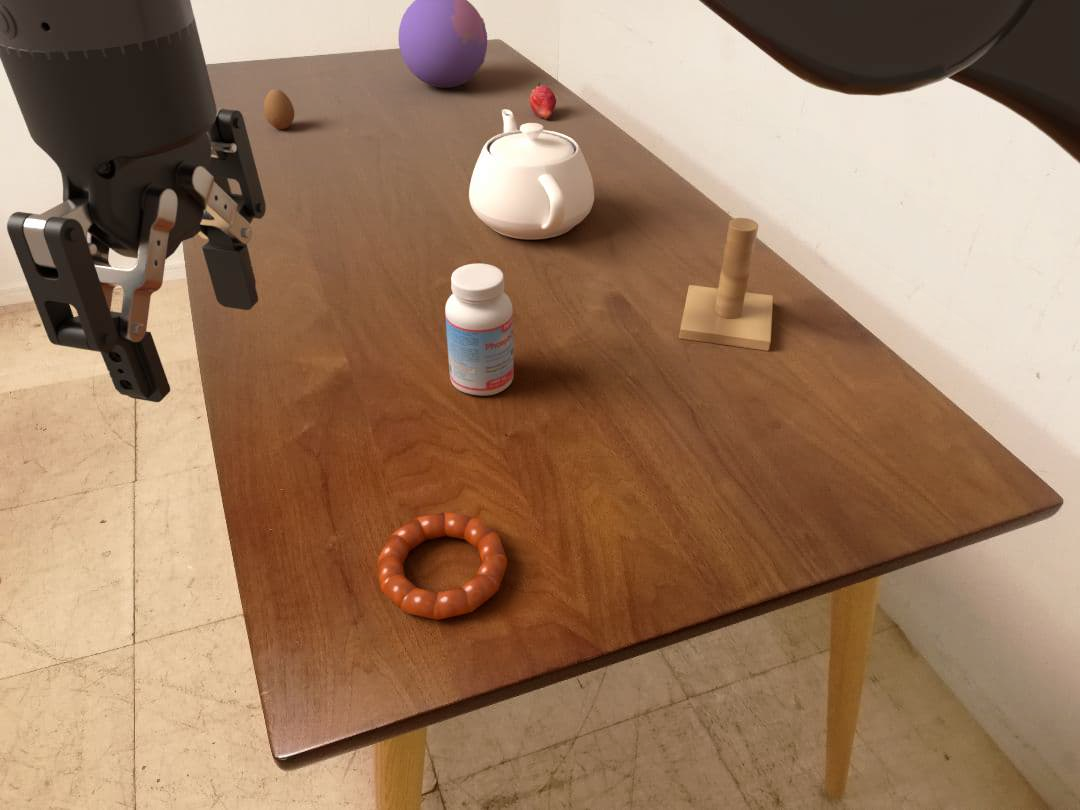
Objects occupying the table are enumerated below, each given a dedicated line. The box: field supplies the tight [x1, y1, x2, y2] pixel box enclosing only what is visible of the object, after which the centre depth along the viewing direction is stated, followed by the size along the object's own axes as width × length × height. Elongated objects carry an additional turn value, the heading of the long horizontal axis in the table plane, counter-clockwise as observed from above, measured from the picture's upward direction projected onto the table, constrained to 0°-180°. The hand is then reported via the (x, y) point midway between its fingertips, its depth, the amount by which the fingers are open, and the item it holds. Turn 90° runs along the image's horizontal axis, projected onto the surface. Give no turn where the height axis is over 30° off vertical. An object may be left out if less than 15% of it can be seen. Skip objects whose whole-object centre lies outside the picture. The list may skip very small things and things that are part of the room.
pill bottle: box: [444, 263, 515, 397], centre depth 75 cm, size 6×6×11 cm
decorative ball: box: [398, 0, 488, 89], centre depth 139 cm, size 15×15×15 cm
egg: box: [263, 88, 295, 130], centre depth 126 cm, size 4×4×6 cm
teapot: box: [468, 108, 595, 240], centre depth 101 cm, size 25×16×12 cm, turn 16°
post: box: [678, 217, 774, 352], centre depth 83 cm, size 9×9×11 cm
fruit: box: [529, 80, 557, 120], centre depth 131 cm, size 4×6×5 cm
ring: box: [376, 511, 508, 621], centre depth 60 cm, size 9×9×2 cm
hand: (197, 347), depth 43 cm, fingers open, 8 cm apart
